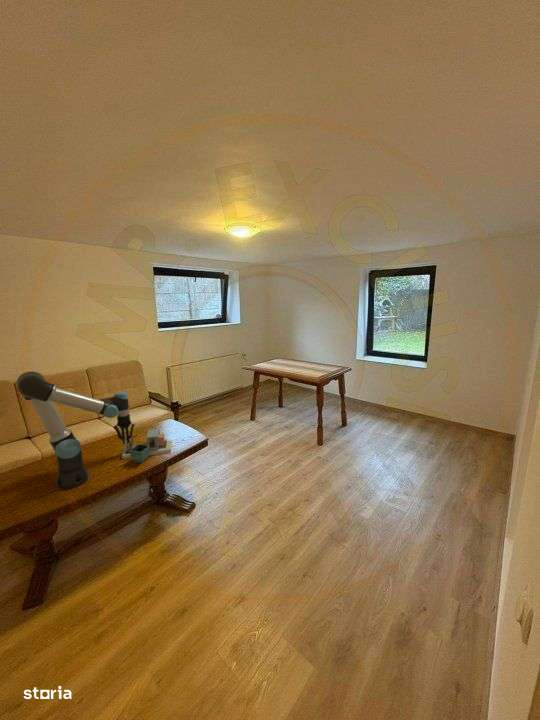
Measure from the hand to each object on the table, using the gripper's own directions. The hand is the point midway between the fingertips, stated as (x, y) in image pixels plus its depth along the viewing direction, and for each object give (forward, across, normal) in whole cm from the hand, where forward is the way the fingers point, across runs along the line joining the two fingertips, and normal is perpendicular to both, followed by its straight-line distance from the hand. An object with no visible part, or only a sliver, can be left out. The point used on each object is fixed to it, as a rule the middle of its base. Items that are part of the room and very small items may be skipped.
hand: (126, 447), depth 197 cm
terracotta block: (0, +21, 0) cm, 21 cm away
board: (+4, +13, 0) cm, 14 cm away
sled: (+1, +14, 0) cm, 14 cm away
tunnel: (+2, +17, 0) cm, 17 cm away
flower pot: (+4, +10, -13) cm, 17 cm away
